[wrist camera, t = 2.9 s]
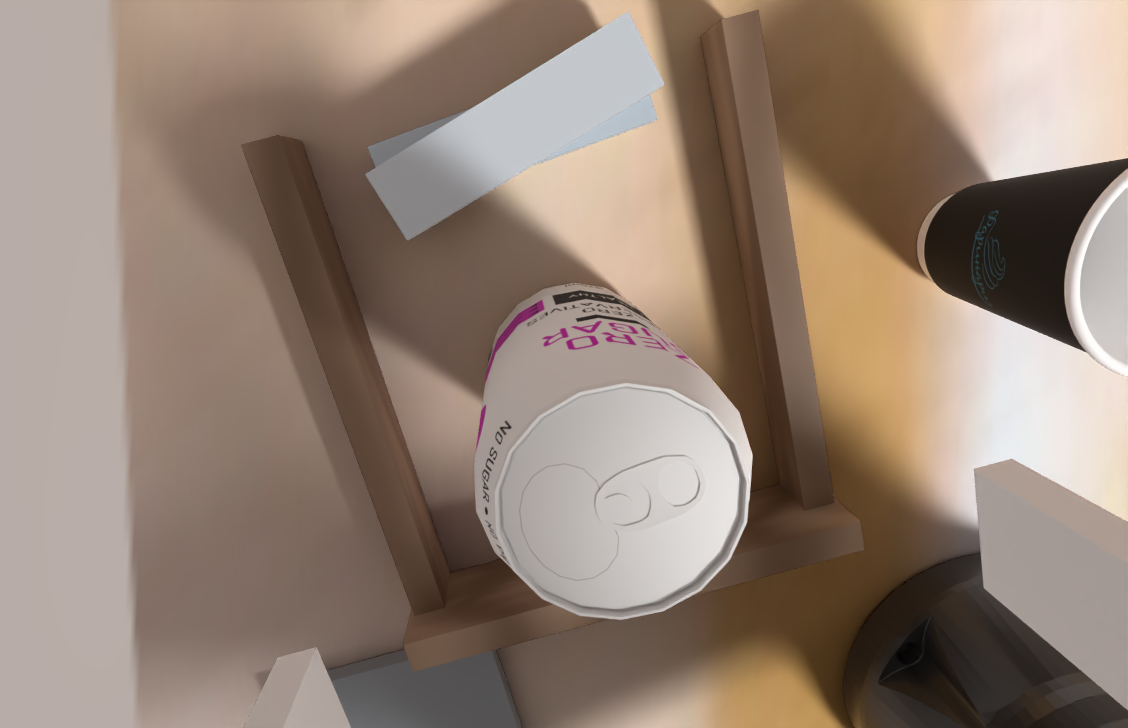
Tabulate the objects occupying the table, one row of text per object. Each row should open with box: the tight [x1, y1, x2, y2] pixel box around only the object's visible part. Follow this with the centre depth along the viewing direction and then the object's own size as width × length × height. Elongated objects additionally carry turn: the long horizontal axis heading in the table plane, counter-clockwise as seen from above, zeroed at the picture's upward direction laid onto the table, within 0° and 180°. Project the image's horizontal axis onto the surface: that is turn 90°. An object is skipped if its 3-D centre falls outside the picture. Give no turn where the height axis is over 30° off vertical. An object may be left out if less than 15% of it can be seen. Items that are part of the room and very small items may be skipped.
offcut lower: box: [367, 95, 657, 167], centre depth 29 cm, size 12×3×2 cm, turn 109°
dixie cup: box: [917, 158, 1128, 377], centre depth 27 cm, size 8×8×11 cm
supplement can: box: [474, 283, 753, 620], centre depth 25 cm, size 8×8×15 cm
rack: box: [241, 10, 865, 672], centre depth 29 cm, size 22×24×5 cm
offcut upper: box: [365, 11, 665, 241], centre depth 27 cm, size 12×3×2 cm, turn 120°
